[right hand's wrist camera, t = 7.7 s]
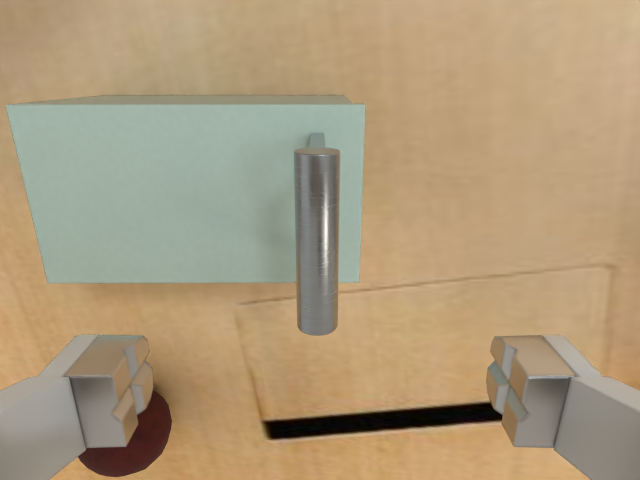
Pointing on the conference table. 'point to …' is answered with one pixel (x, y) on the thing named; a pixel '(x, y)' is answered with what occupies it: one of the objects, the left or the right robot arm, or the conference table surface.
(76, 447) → the right robot arm
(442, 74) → the conference table surface
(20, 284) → the conference table surface
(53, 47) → the conference table surface
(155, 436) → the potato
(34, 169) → the lid
